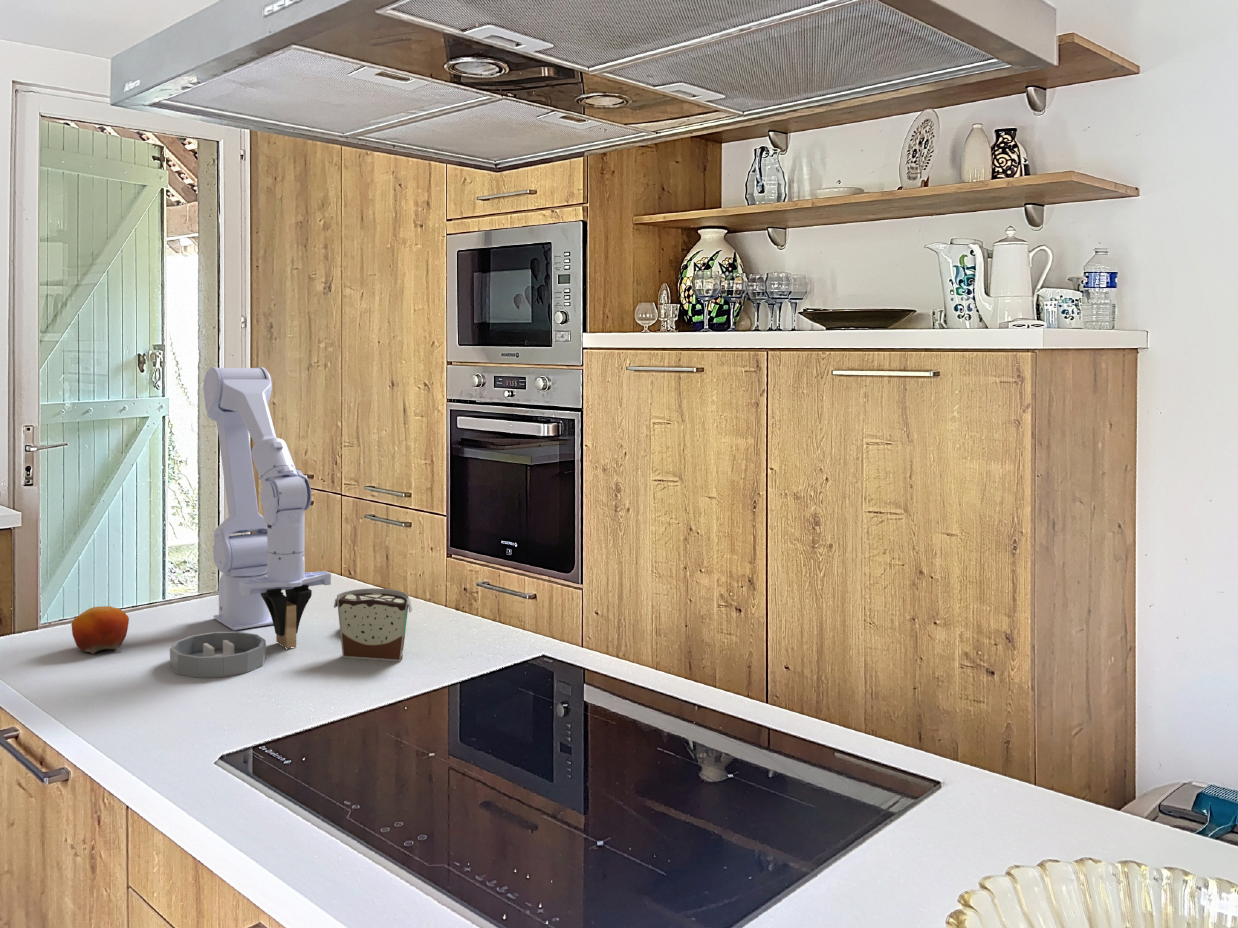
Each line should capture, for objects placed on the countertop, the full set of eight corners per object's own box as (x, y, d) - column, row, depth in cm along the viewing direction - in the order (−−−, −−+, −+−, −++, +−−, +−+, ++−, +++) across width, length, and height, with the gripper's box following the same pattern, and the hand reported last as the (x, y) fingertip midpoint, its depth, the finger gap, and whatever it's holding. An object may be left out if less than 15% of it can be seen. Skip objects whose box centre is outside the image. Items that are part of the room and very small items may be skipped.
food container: (421, 650, 170) (422, 590, 169) (409, 661, 164) (410, 599, 163) (347, 645, 172) (347, 585, 170) (333, 656, 165) (333, 594, 164)
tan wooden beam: (276, 643, 171) (276, 601, 170) (285, 641, 172) (285, 599, 171) (286, 649, 168) (286, 606, 167) (296, 647, 169) (296, 605, 168)
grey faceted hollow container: (159, 659, 161) (159, 640, 160) (244, 645, 169) (244, 627, 169) (189, 683, 151) (189, 663, 151) (278, 666, 160) (278, 647, 159)
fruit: (84, 653, 158) (75, 603, 160) (72, 668, 163) (64, 619, 166) (140, 644, 163) (131, 596, 165) (127, 659, 169) (118, 611, 171)
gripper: (251, 560, 161) (251, 646, 162) (339, 550, 170) (339, 631, 172) (233, 552, 166) (234, 635, 168) (320, 542, 175) (320, 621, 177)
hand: (286, 633), depth 170 cm, fingers closed on tan wooden beam, 2 cm apart
